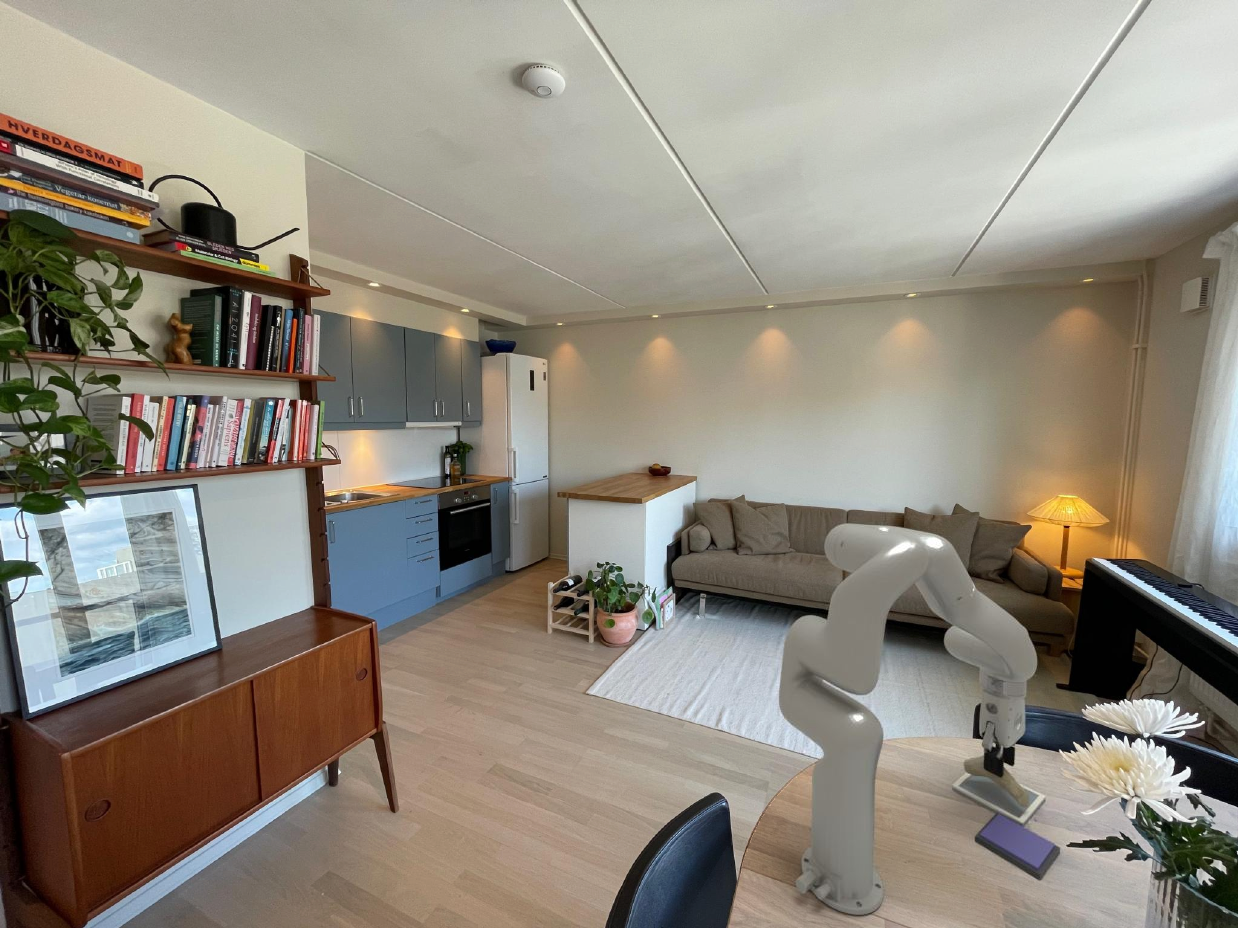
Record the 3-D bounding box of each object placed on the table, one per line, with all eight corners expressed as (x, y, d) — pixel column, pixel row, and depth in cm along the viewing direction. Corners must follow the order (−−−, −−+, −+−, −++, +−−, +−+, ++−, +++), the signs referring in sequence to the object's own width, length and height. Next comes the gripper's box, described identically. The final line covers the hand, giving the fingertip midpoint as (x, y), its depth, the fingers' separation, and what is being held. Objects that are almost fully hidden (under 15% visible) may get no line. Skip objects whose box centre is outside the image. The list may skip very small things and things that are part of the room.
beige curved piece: (960, 771, 104) (961, 750, 104) (979, 764, 107) (981, 743, 106) (1020, 810, 94) (1021, 786, 93) (1040, 801, 96) (1041, 777, 96)
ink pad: (1040, 880, 82) (1040, 871, 82) (974, 840, 90) (975, 833, 90) (1059, 852, 87) (1060, 844, 87) (996, 817, 95) (996, 810, 95)
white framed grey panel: (1022, 827, 93) (1022, 822, 93) (951, 789, 103) (952, 784, 103) (1045, 800, 99) (1045, 795, 99) (976, 767, 109) (977, 762, 109)
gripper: (1008, 704, 92) (1004, 796, 93) (1041, 677, 101) (1037, 761, 102) (962, 686, 98) (959, 773, 99) (997, 663, 107) (994, 742, 108)
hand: (999, 766), depth 101 cm, fingers closed on beige curved piece, 4 cm apart
